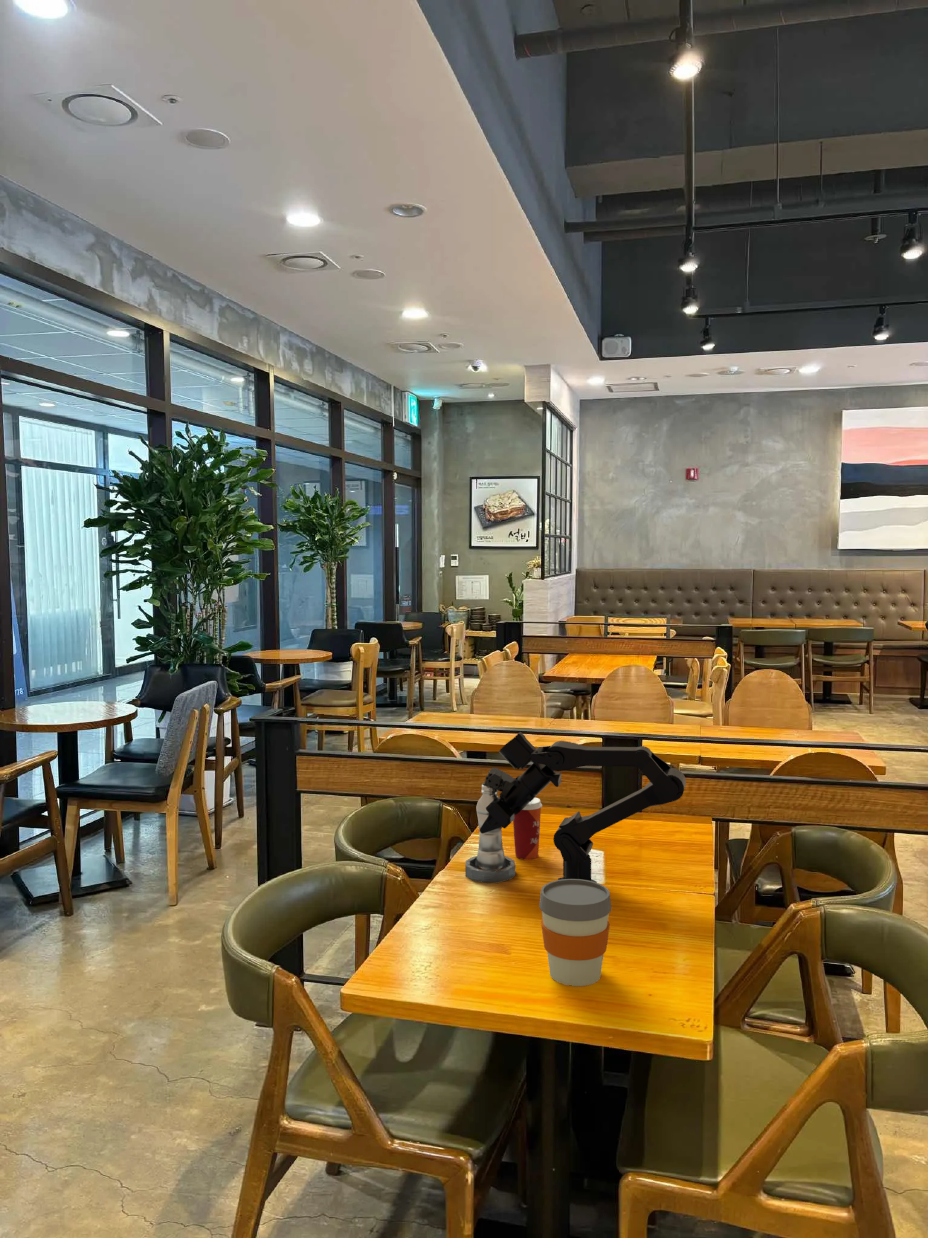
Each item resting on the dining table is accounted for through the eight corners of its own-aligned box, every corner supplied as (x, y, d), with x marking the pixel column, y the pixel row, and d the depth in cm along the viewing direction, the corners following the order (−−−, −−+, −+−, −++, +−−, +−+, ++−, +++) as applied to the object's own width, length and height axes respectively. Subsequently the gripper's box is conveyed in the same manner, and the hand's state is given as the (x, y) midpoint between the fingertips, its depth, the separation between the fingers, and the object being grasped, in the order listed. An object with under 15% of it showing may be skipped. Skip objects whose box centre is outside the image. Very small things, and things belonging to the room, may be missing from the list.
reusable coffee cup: (534, 959, 162) (534, 879, 161) (602, 956, 163) (602, 877, 161) (545, 993, 149) (545, 907, 148) (618, 990, 150) (619, 904, 149)
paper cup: (543, 861, 213) (543, 804, 212) (511, 861, 213) (511, 804, 212) (541, 850, 221) (541, 795, 220) (510, 850, 221) (510, 795, 220)
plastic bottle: (475, 873, 202) (473, 788, 201) (479, 863, 209) (478, 780, 207) (502, 874, 201) (501, 788, 200) (506, 864, 208) (505, 781, 206)
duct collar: (524, 876, 203) (524, 866, 203) (481, 886, 198) (481, 875, 197) (498, 861, 213) (498, 851, 213) (456, 870, 208) (456, 860, 207)
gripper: (515, 749, 211) (473, 791, 215) (494, 767, 193) (447, 813, 198) (548, 783, 209) (504, 825, 213) (529, 805, 191) (482, 850, 196)
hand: (484, 827), depth 205 cm, fingers closed on plastic bottle, 6 cm apart
